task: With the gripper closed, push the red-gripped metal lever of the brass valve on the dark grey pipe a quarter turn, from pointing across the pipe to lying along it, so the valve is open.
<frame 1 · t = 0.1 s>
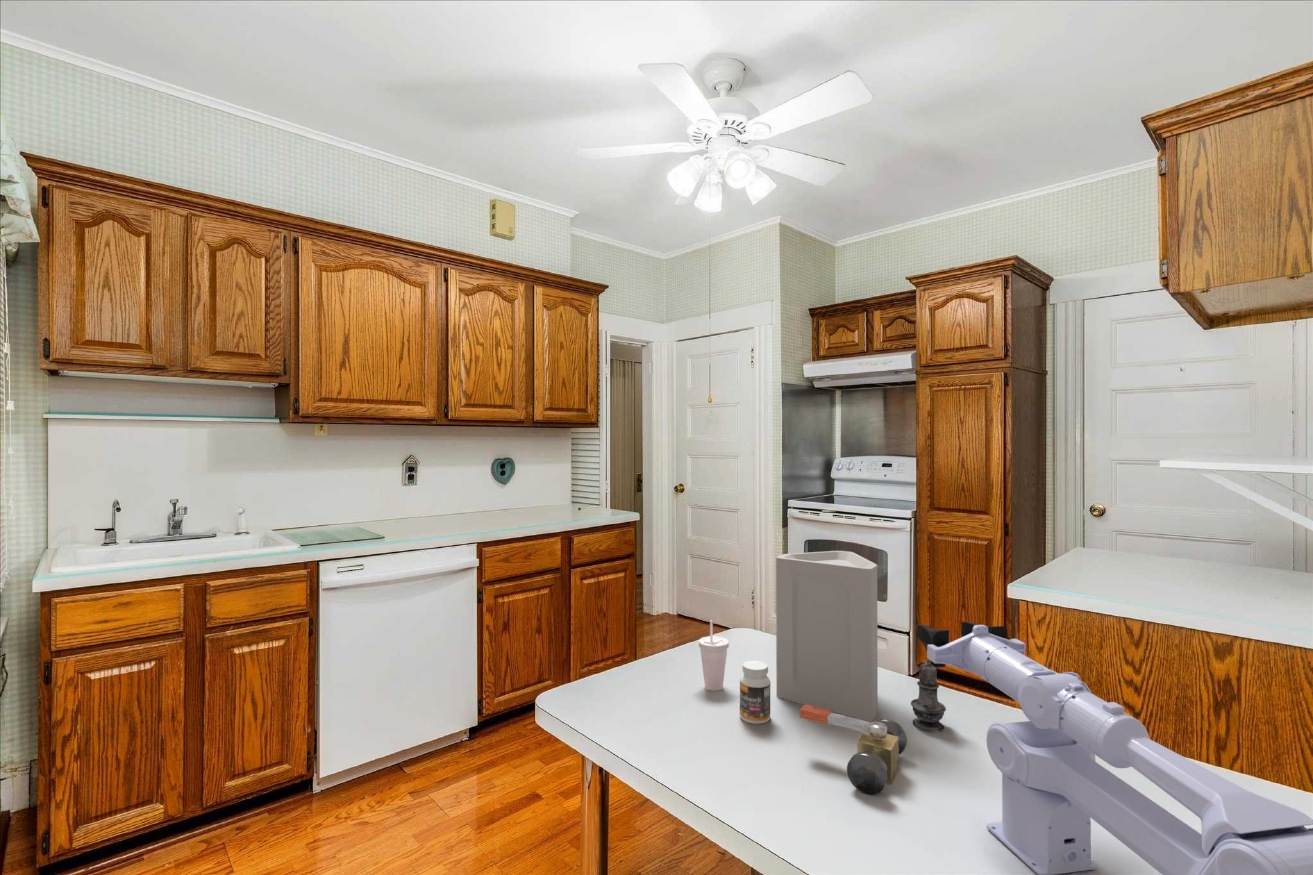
hand: (941, 629, 98), 22 cm above the table, tool horizontal, fingers open, 7 cm apart
valve: (878, 772, 96), on the table
salt shaker: (928, 726, 111), on the table
valve lever: (843, 721, 99), point 7 cm above the table, hinge at 0.0°
smoothie: (713, 687, 129), on the table
pill bottle: (755, 719, 114), on the table
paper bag: (834, 696, 124), on the table
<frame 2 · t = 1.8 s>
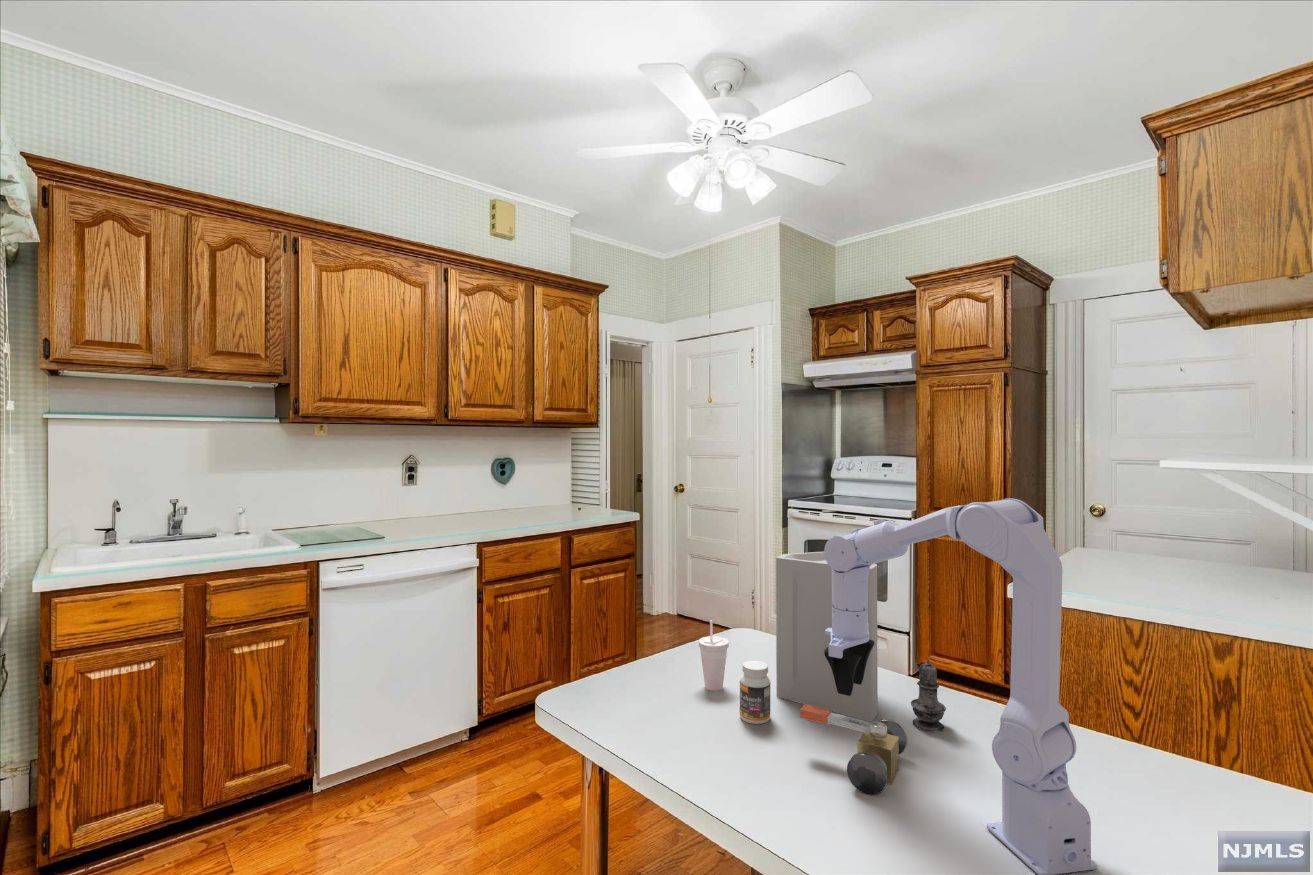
hand: (849, 688, 102), 10 cm above the table, tool pointing down, fingers open, 5 cm apart
nothing on the table moved.
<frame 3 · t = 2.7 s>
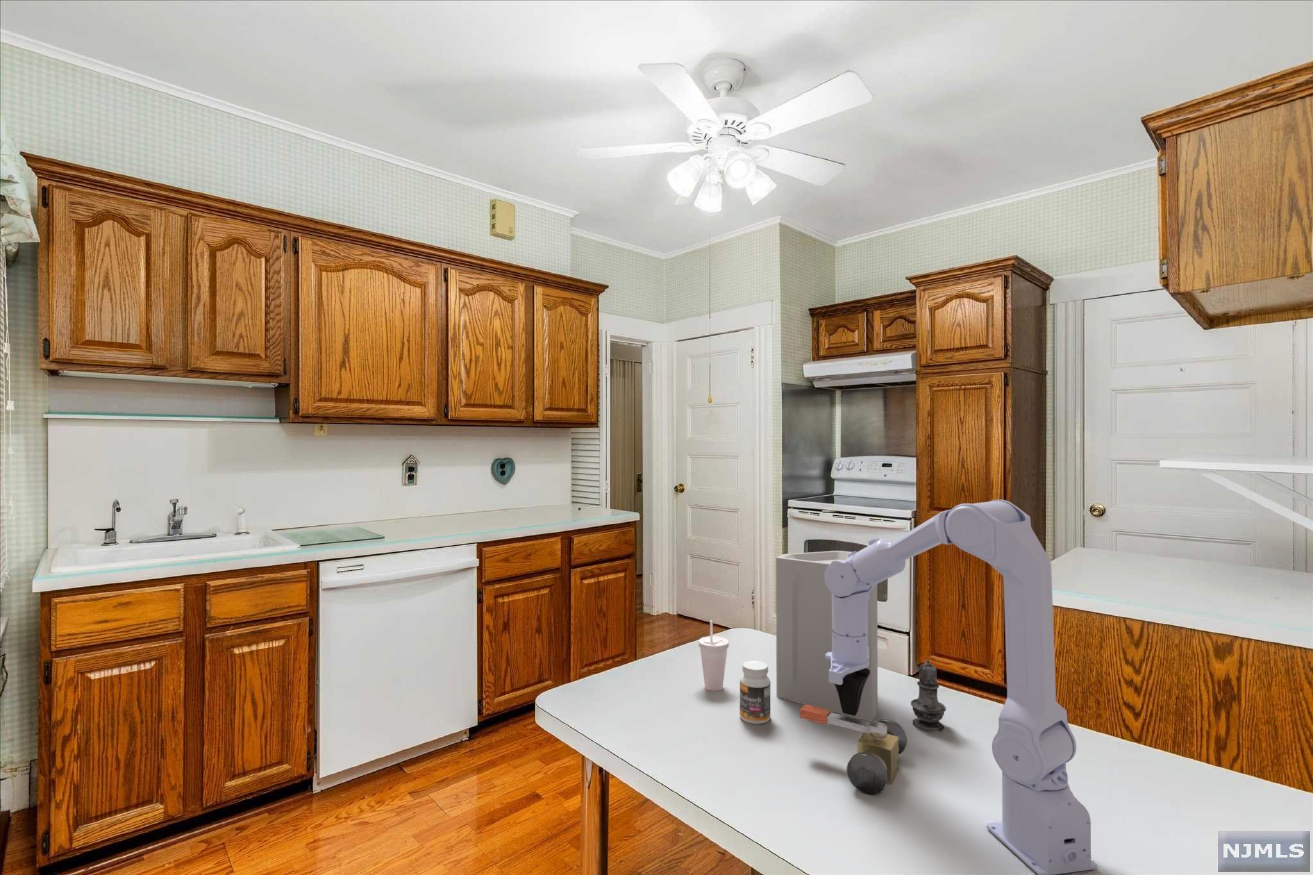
hand: (849, 713, 102), 6 cm above the table, tool pointing down, fingers closed
nothing on the table moved.
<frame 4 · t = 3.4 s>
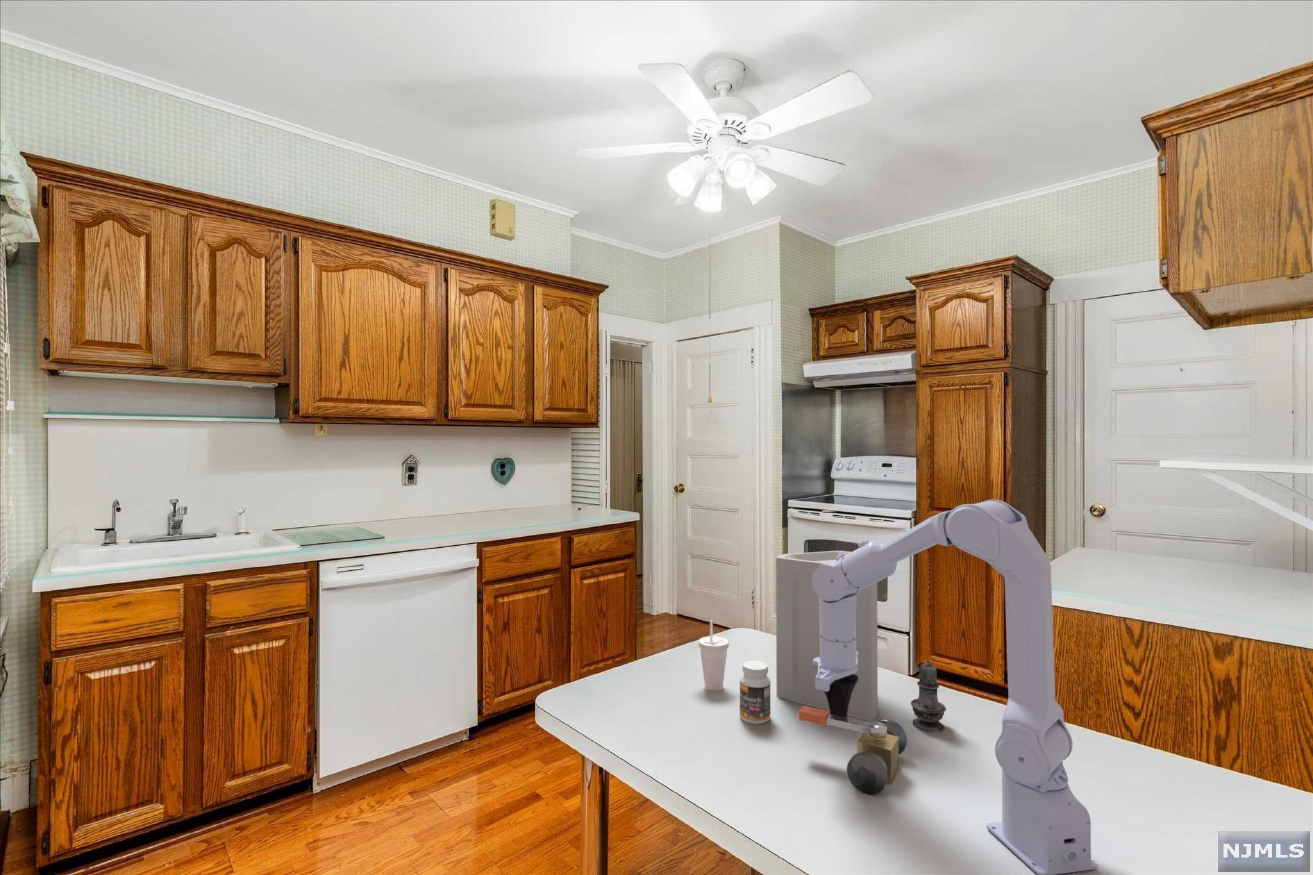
hand: (838, 719, 100), 6 cm above the table, tool pointing down, fingers closed, pressing on valve lever
valve lever: (842, 721, 99), point 7 cm above the table, hinge at 3.8°, touching gripper
everything else where it was.
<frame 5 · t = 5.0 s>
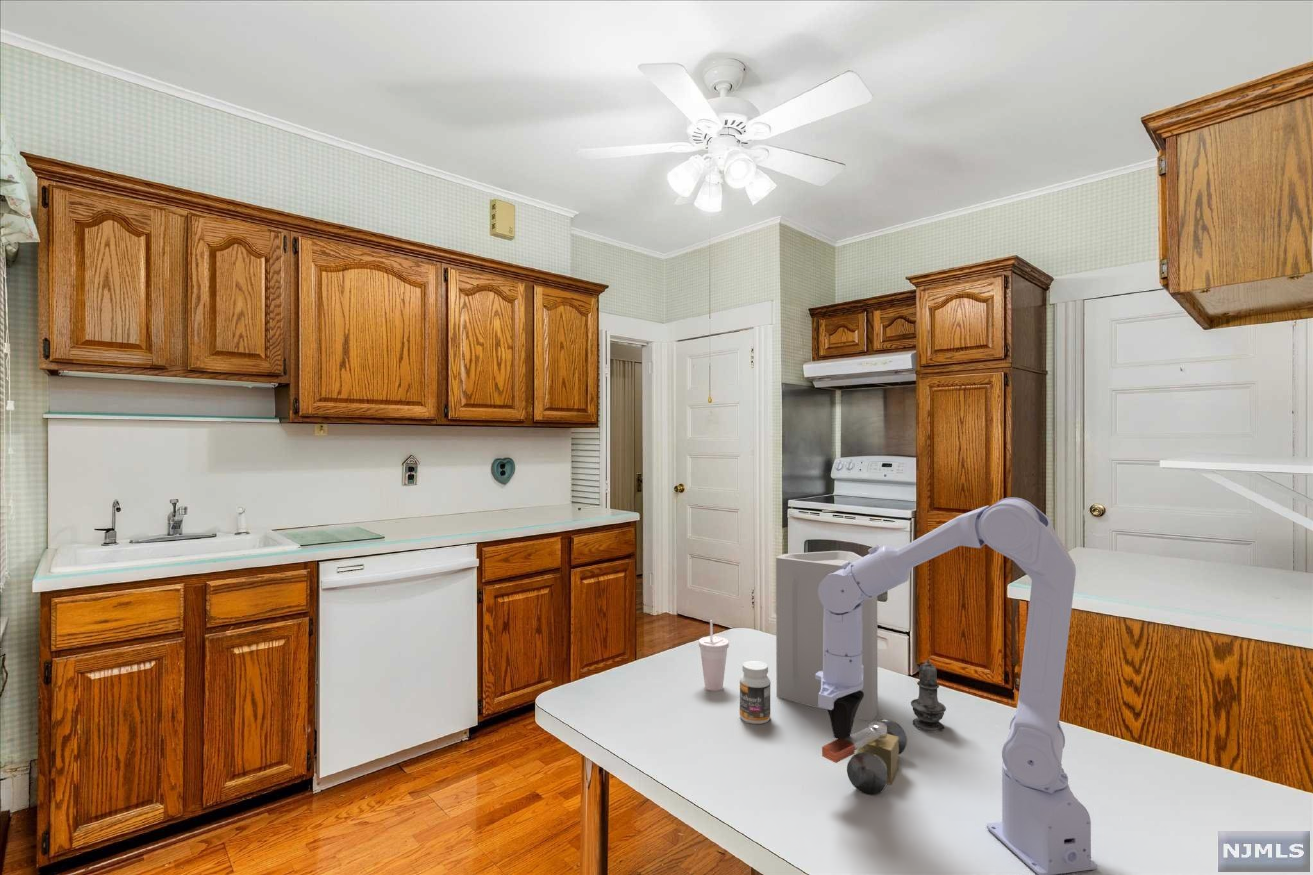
hand: (841, 738, 94), 6 cm above the table, tool pointing down, fingers closed, pressing on valve lever
valve lever: (857, 740, 92), point 7 cm above the table, hinge at 70.9°, touching gripper
everything else where it was.
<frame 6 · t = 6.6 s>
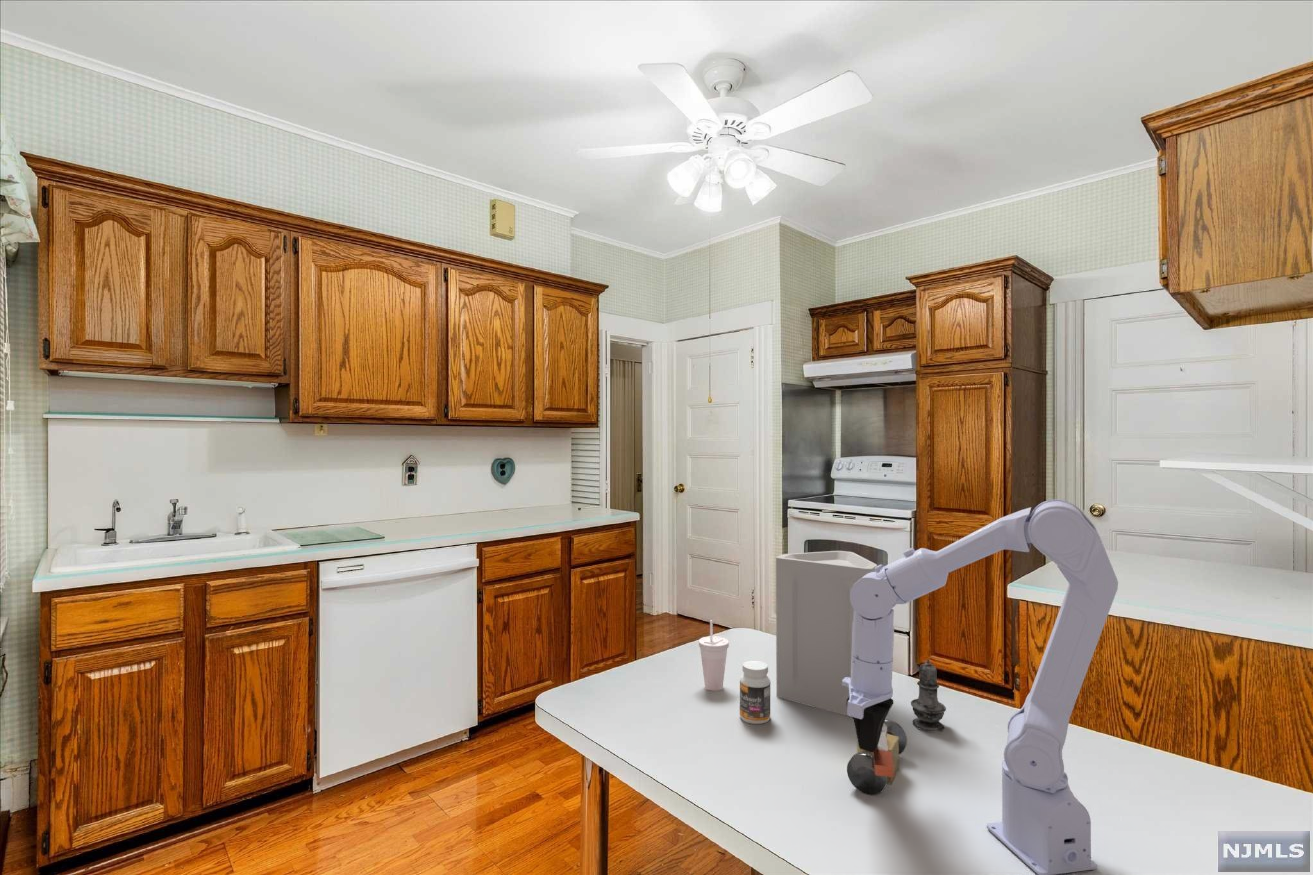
hand: (867, 748, 90), 7 cm above the table, tool pointing down, fingers closed, pressing on valve lever
valve lever: (880, 747, 91), point 7 cm above the table, hinge at 107.7°, touching gripper
everything else where it was.
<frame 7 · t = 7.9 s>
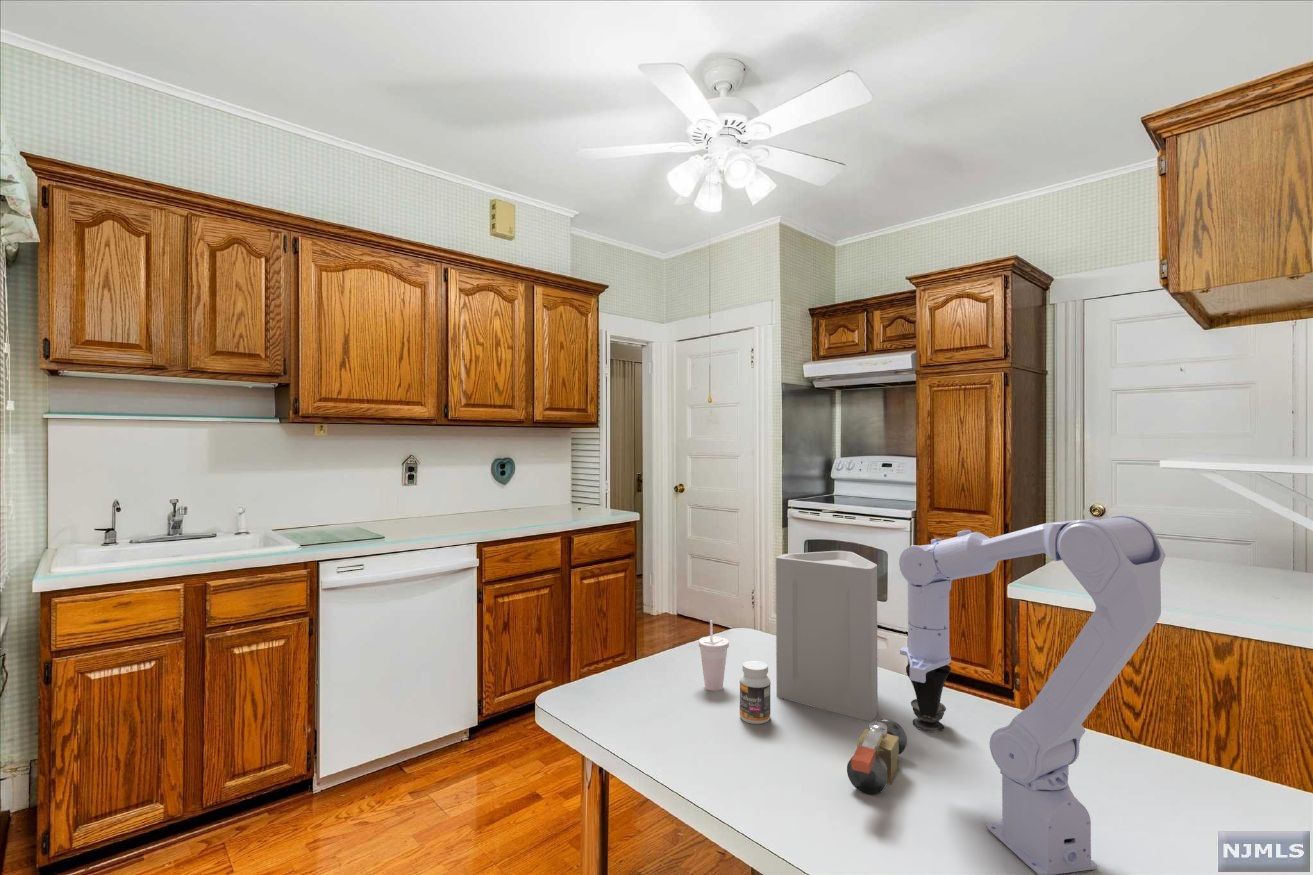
hand: (928, 714, 93), 10 cm above the table, tool pointing down, fingers closed
valve lever: (870, 745, 91), point 7 cm above the table, hinge at 92.9°
everything else where it was.
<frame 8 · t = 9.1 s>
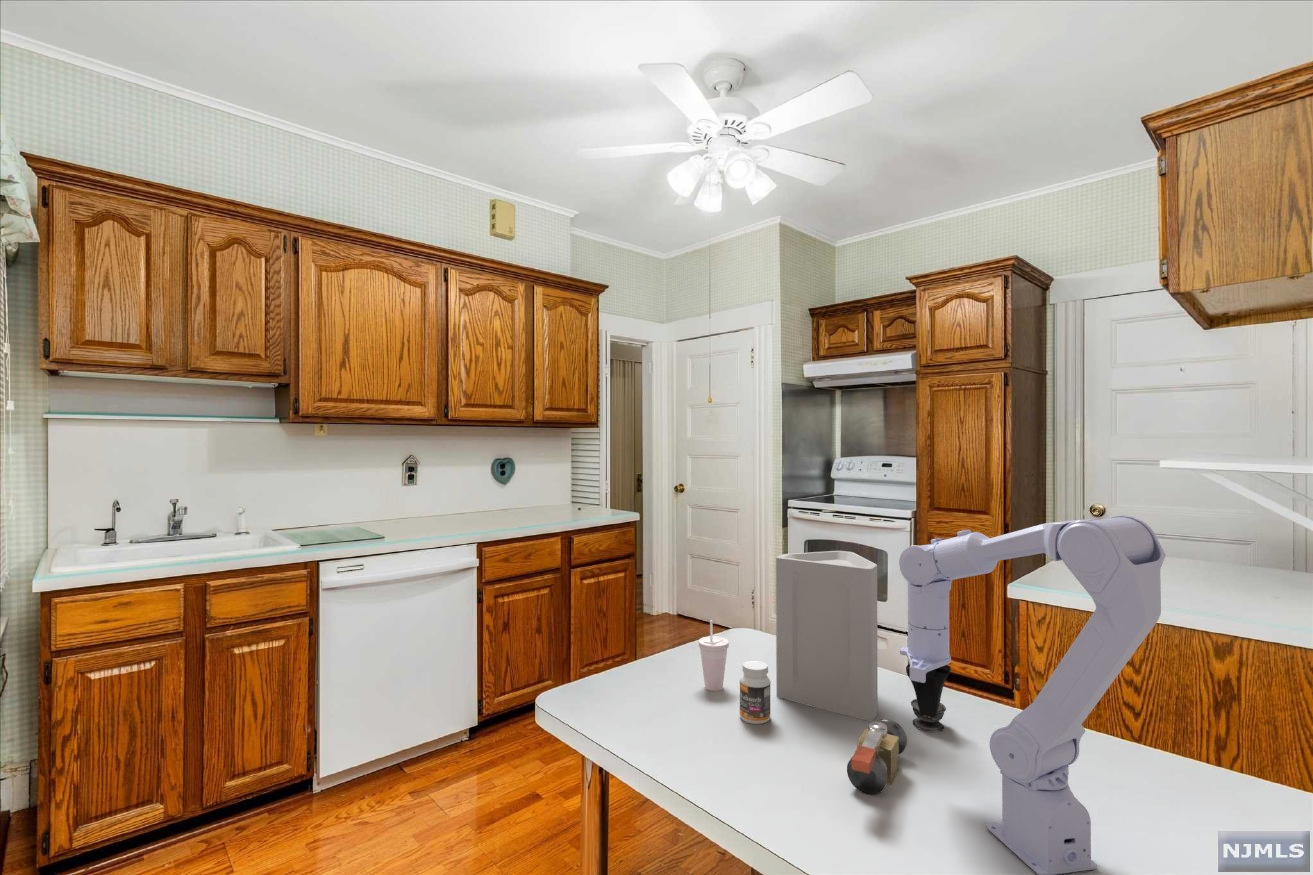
hand: (928, 714, 93), 10 cm above the table, tool pointing down, fingers closed
nothing on the table moved.
at the end: valve lever at +93° (first picture: +0°) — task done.
